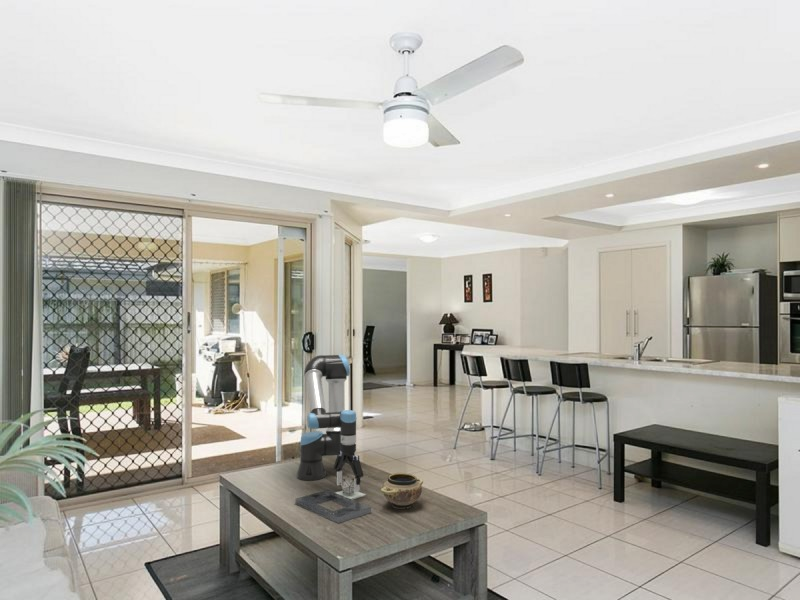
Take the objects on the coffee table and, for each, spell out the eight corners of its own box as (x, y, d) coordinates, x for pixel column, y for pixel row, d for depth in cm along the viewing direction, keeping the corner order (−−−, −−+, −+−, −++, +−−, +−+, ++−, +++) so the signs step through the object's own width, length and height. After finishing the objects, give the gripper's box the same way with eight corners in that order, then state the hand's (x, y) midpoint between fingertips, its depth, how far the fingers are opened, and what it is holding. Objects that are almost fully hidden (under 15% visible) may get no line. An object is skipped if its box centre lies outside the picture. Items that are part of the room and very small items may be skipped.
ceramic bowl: (390, 522, 232) (396, 490, 230) (366, 501, 245) (371, 471, 243) (431, 509, 248) (437, 479, 246) (406, 490, 262) (411, 462, 259)
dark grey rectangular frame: (295, 504, 247) (295, 498, 247) (327, 495, 260) (327, 489, 260) (338, 523, 224) (338, 517, 224) (371, 512, 237) (371, 506, 237)
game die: (352, 501, 260) (364, 486, 258) (339, 499, 254) (351, 483, 253) (346, 488, 266) (357, 473, 265) (333, 485, 261) (344, 470, 260)
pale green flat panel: (330, 495, 260) (330, 494, 260) (350, 489, 268) (350, 488, 268) (345, 501, 251) (345, 500, 251) (365, 495, 259) (365, 494, 259)
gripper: (326, 440, 267) (326, 483, 266) (358, 449, 249) (358, 496, 248) (338, 438, 272) (338, 480, 271) (371, 446, 254) (370, 492, 253)
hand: (348, 488), depth 260 cm, fingers open, 13 cm apart
